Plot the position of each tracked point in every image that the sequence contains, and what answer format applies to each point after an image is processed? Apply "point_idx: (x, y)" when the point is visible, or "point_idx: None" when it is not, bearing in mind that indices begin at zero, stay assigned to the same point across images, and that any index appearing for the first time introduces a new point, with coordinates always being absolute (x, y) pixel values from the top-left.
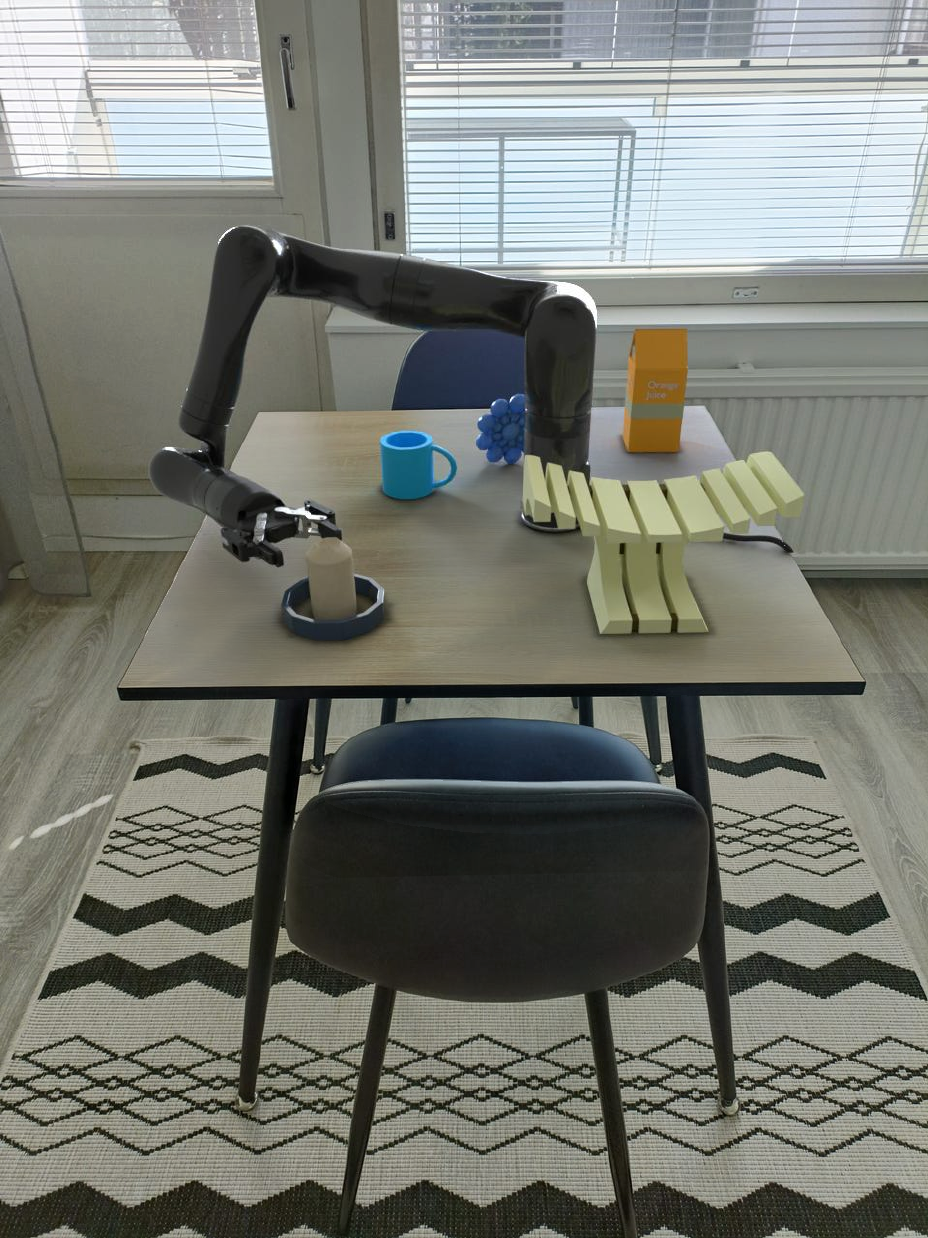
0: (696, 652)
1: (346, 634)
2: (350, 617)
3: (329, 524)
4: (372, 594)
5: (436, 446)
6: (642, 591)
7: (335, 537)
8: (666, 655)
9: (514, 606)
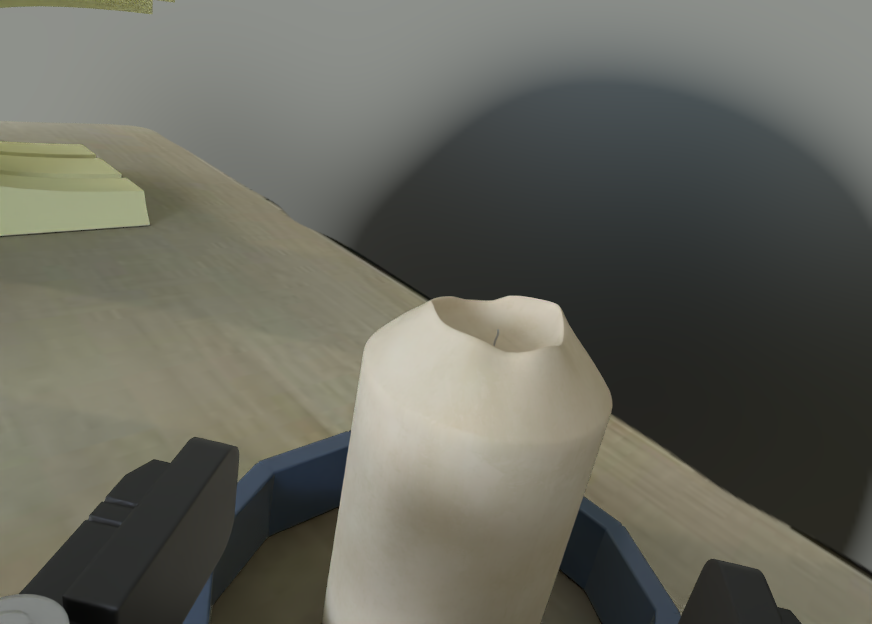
0: (149, 175)
1: None
2: None
3: (137, 518)
4: (235, 557)
5: None
6: (5, 164)
7: (433, 306)
8: (176, 189)
9: (86, 308)
